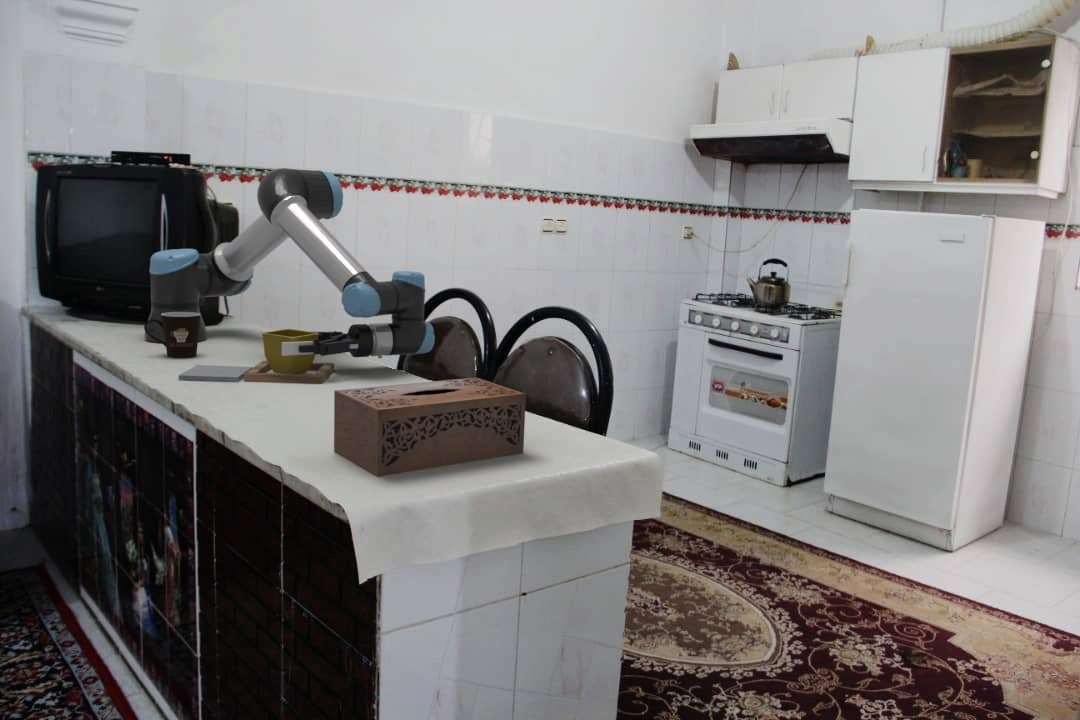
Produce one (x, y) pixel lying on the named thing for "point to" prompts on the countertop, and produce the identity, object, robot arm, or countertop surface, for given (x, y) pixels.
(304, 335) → the flower pot
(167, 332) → the coffee mug
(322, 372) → the board
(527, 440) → the countertop surface
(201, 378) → the mat
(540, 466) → the countertop surface
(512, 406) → the tissue box cover
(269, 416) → the countertop surface
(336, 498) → the countertop surface
